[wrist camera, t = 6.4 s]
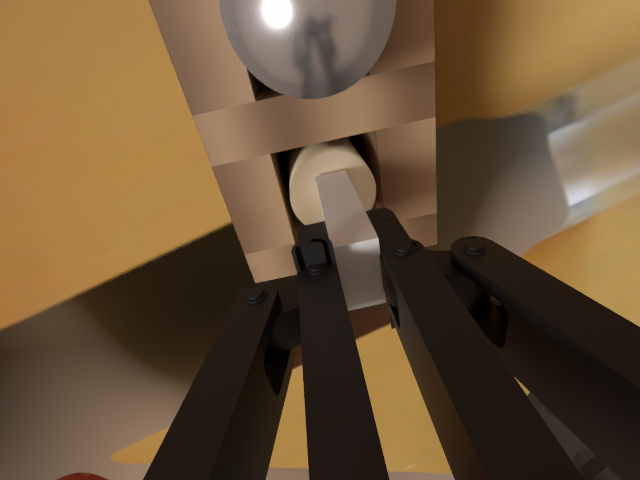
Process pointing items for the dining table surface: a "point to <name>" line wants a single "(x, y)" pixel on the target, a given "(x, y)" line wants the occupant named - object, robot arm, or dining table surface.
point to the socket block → (307, 127)
